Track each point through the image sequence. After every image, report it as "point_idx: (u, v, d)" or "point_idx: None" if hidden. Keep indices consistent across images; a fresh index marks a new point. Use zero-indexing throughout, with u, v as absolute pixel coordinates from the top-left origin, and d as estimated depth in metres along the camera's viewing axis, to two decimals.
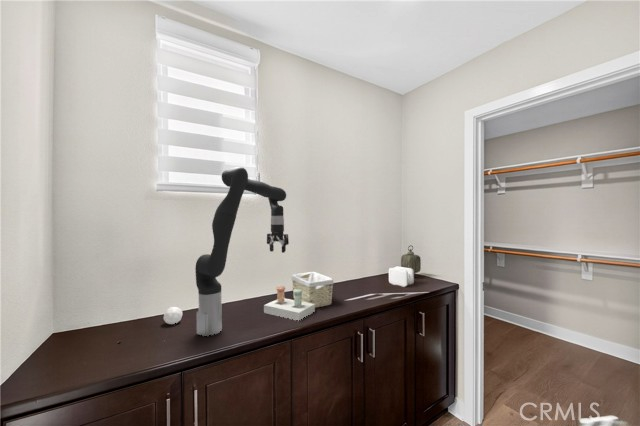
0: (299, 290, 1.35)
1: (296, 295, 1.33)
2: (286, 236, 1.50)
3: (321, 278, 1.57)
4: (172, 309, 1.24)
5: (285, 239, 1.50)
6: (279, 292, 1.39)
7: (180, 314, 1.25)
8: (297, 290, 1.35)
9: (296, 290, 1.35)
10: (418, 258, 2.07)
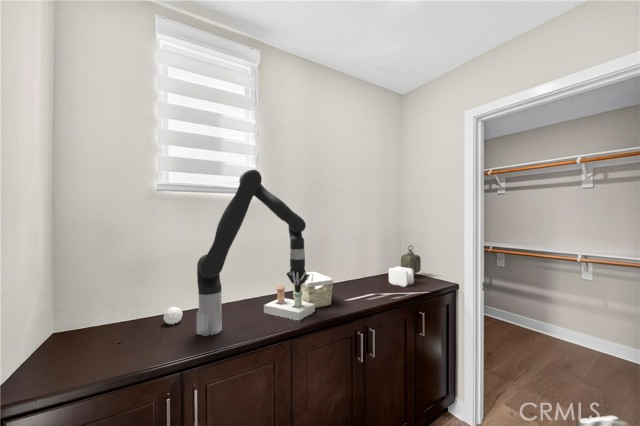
0: (299, 292, 1.35)
1: (296, 297, 1.33)
2: (306, 277, 1.32)
3: (321, 278, 1.56)
4: (172, 309, 1.24)
5: (303, 280, 1.32)
6: (279, 292, 1.39)
7: (180, 314, 1.25)
8: (297, 292, 1.35)
9: (296, 292, 1.35)
10: (418, 258, 2.07)
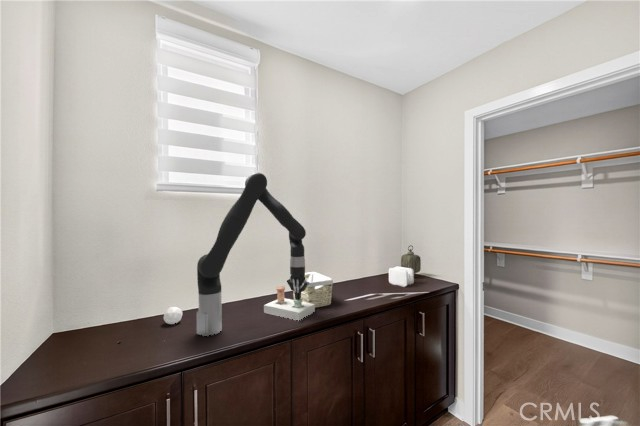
0: (299, 299, 1.35)
1: (296, 304, 1.33)
2: (306, 285, 1.32)
3: (321, 278, 1.56)
4: (172, 309, 1.24)
5: (303, 287, 1.32)
6: (279, 292, 1.39)
7: (180, 314, 1.25)
8: None
9: None
10: (418, 258, 2.07)
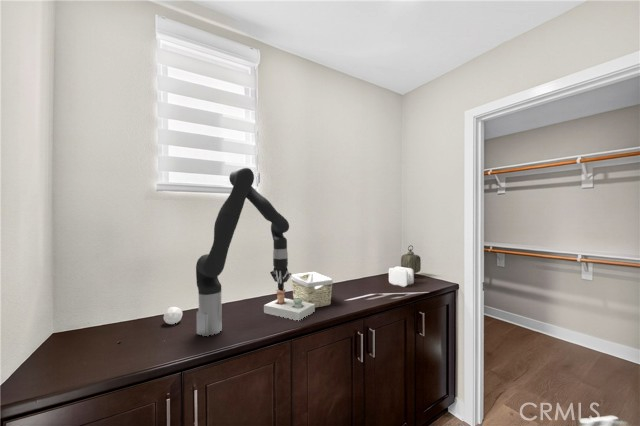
0: (299, 299, 1.35)
1: (296, 304, 1.33)
2: (288, 276, 1.37)
3: (321, 278, 1.56)
4: (172, 309, 1.24)
5: (285, 278, 1.37)
6: (279, 295, 1.39)
7: (180, 314, 1.25)
8: (297, 299, 1.35)
9: (296, 299, 1.35)
10: (418, 258, 2.07)
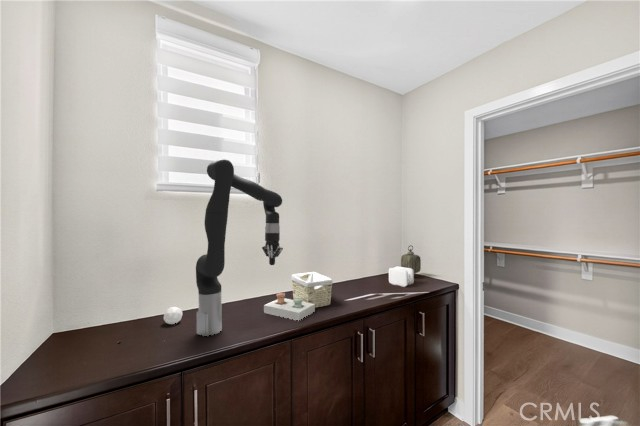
0: (299, 299, 1.35)
1: (296, 304, 1.33)
2: (279, 250, 1.37)
3: (320, 278, 1.56)
4: (172, 309, 1.24)
5: (277, 252, 1.37)
6: (279, 298, 1.39)
7: (180, 314, 1.25)
8: (297, 299, 1.35)
9: (296, 299, 1.35)
10: (418, 258, 2.07)
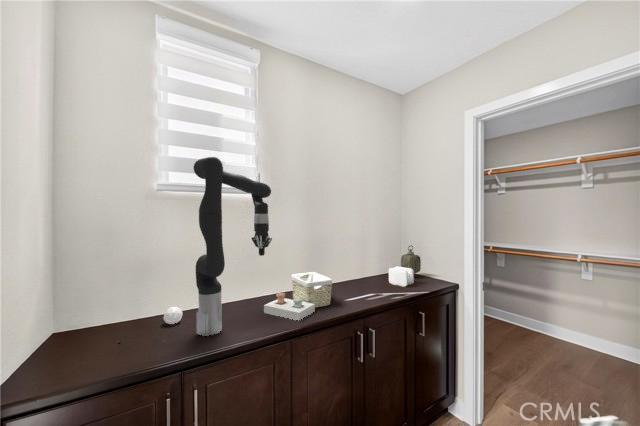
0: (299, 299, 1.35)
1: (296, 304, 1.33)
2: (269, 240, 1.38)
3: (320, 278, 1.56)
4: (172, 309, 1.24)
5: (266, 243, 1.37)
6: (279, 298, 1.39)
7: (180, 314, 1.25)
8: (297, 299, 1.35)
9: (296, 299, 1.35)
10: (418, 258, 2.07)
